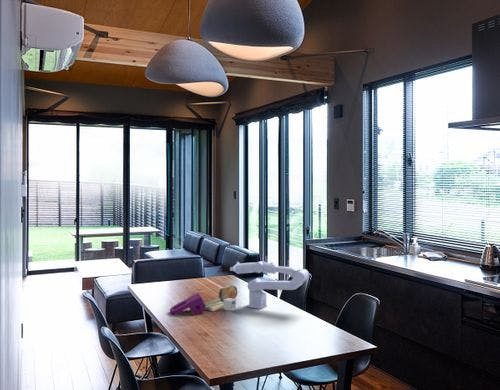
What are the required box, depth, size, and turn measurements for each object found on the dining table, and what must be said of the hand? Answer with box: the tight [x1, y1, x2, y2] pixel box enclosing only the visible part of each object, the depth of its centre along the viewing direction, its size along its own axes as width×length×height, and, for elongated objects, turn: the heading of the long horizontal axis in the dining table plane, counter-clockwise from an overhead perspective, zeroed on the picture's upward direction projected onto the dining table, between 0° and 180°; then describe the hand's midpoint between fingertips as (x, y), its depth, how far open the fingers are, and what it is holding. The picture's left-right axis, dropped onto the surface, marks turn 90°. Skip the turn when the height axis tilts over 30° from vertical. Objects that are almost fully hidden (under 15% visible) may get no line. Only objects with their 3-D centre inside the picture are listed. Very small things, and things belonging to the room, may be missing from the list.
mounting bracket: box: [169, 292, 206, 316], centre depth 252 cm, size 10×8×18 cm
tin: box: [218, 285, 238, 302], centre depth 279 cm, size 15×3×8 cm, turn 143°
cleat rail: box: [204, 298, 224, 312], centre depth 262 cm, size 6×14×3 cm, turn 147°
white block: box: [223, 298, 237, 312], centre depth 259 cm, size 6×4×6 cm
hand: (225, 269), depth 274 cm, fingers open, 7 cm apart
